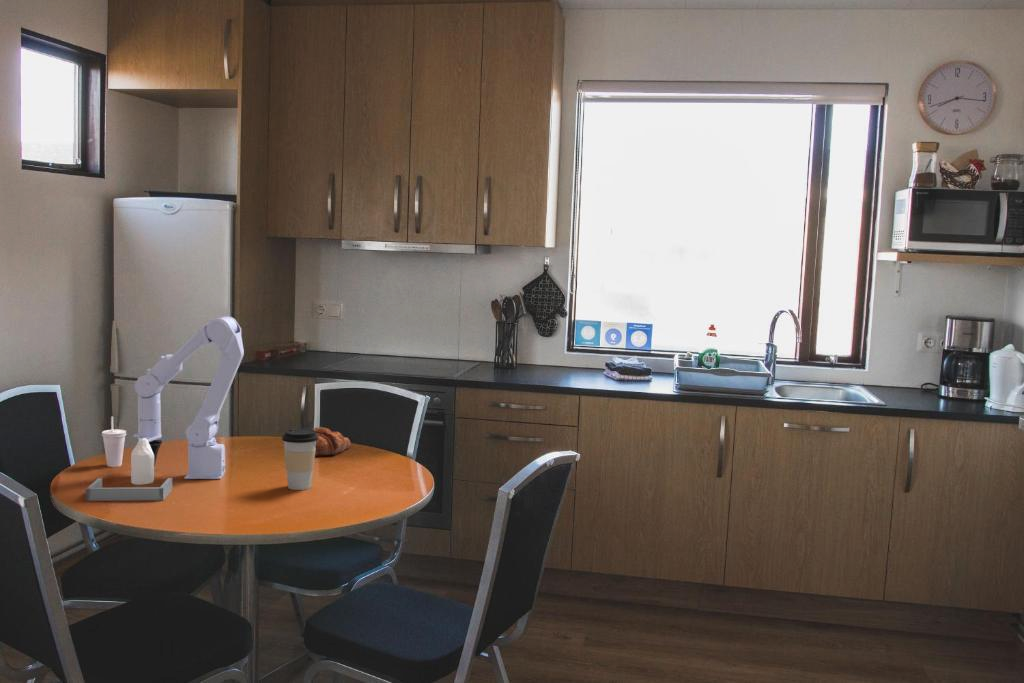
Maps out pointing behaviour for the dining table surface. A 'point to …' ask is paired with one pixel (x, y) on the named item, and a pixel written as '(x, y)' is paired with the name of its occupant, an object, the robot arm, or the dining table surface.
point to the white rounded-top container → (142, 463)
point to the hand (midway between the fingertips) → (149, 467)
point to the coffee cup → (299, 457)
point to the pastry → (330, 442)
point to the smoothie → (114, 445)
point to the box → (127, 492)
